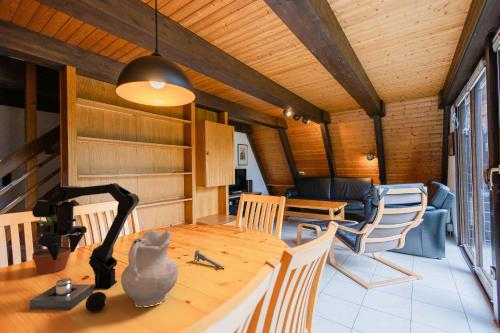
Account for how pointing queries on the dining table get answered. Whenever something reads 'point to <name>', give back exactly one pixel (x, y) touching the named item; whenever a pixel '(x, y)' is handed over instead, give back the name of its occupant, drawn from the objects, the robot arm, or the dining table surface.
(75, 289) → the jig
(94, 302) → the billiard ball
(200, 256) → the caliper
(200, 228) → the dining table surface
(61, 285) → the grey cylinder
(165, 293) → the ceramic pitcher
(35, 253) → the potted plant
